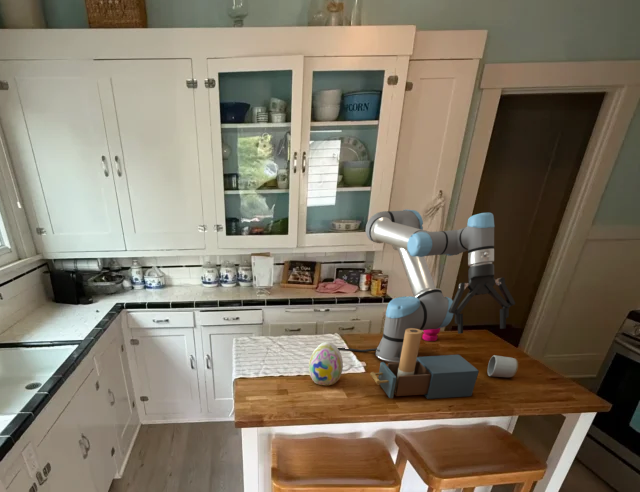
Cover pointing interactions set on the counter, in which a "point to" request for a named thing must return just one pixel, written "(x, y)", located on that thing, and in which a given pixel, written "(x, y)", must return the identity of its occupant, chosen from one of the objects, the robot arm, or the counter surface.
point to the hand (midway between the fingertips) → (481, 331)
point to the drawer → (402, 380)
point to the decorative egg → (326, 364)
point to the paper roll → (409, 352)
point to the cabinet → (449, 376)
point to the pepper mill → (430, 334)
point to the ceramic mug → (502, 366)
